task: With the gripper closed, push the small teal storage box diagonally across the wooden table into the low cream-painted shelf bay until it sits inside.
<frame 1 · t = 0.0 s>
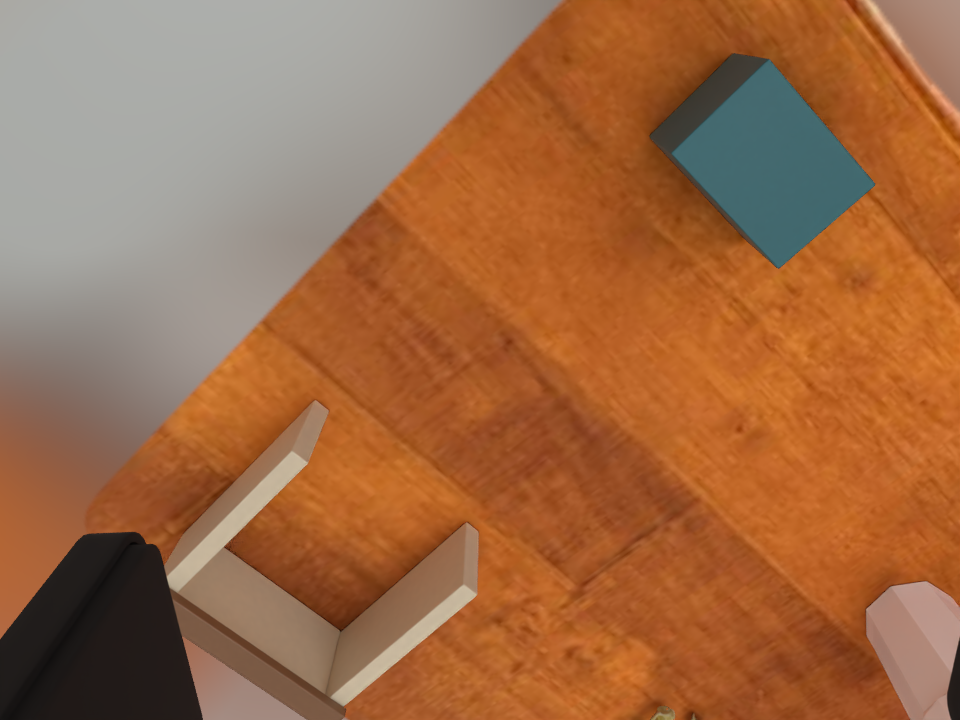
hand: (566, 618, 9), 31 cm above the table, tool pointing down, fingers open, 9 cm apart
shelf: (330, 533, 46), on the table
box: (739, 150, 37), on the table
cup: (906, 614, 48), on the table
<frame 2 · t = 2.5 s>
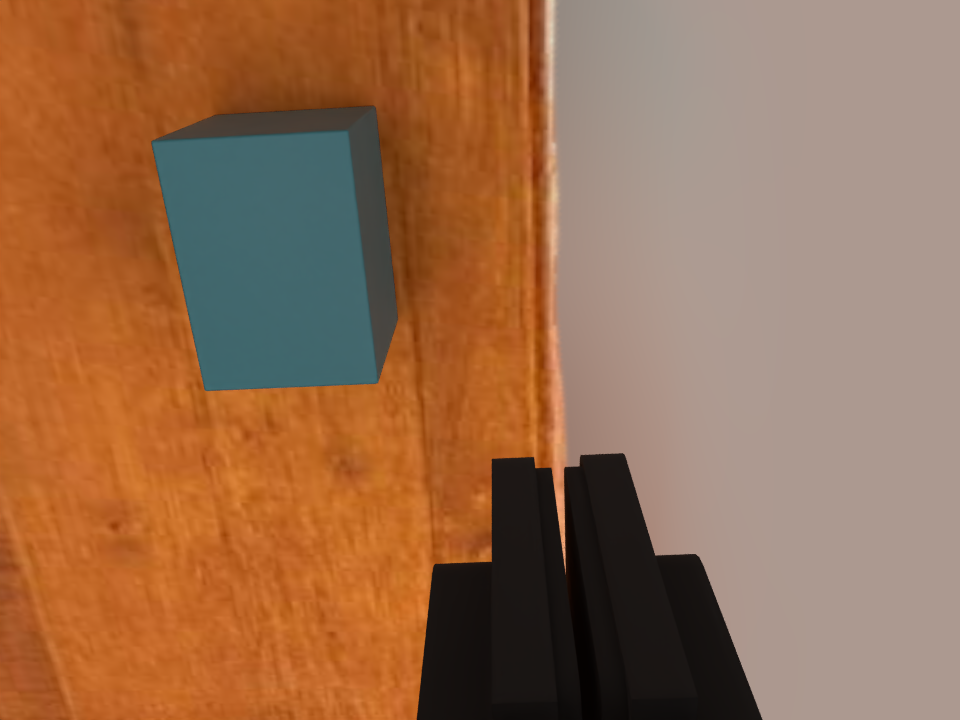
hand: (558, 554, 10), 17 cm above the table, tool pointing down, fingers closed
box: (310, 222, 26), on the table
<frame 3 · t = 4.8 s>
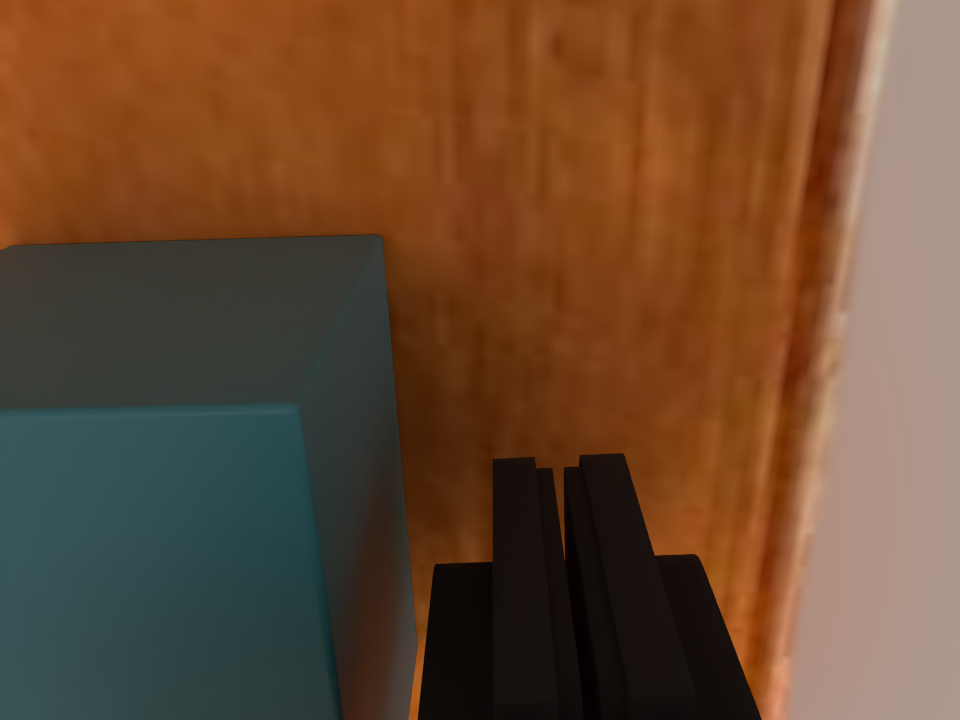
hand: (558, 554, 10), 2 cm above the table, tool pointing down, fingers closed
box: (235, 467, 12), on the table, touching gripper
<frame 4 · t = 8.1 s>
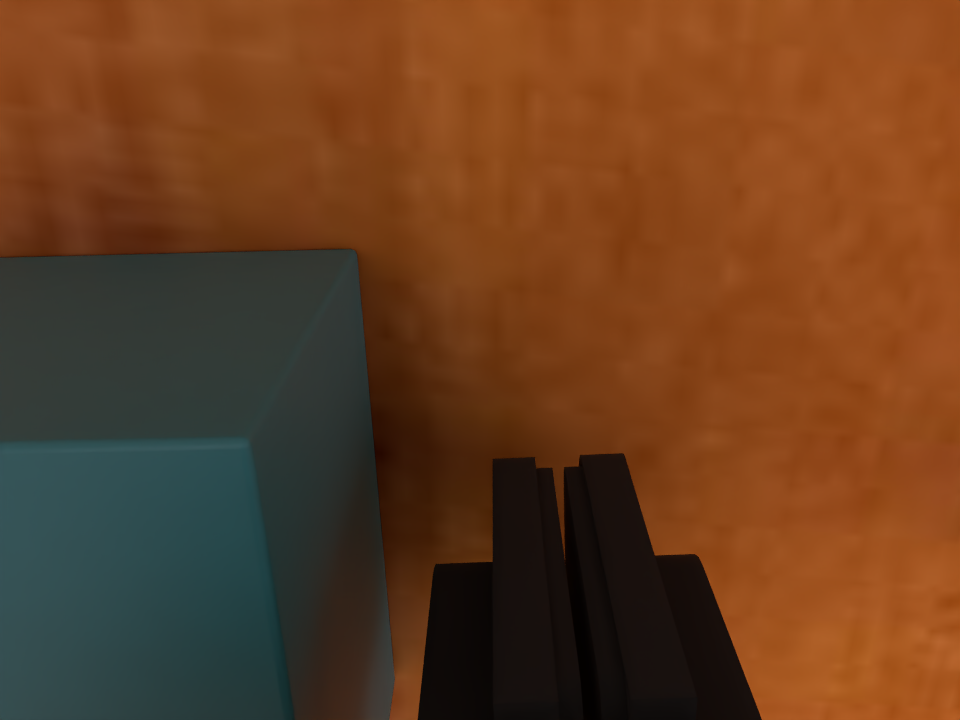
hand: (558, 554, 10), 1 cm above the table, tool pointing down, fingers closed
box: (202, 492, 11), on the table, touching gripper
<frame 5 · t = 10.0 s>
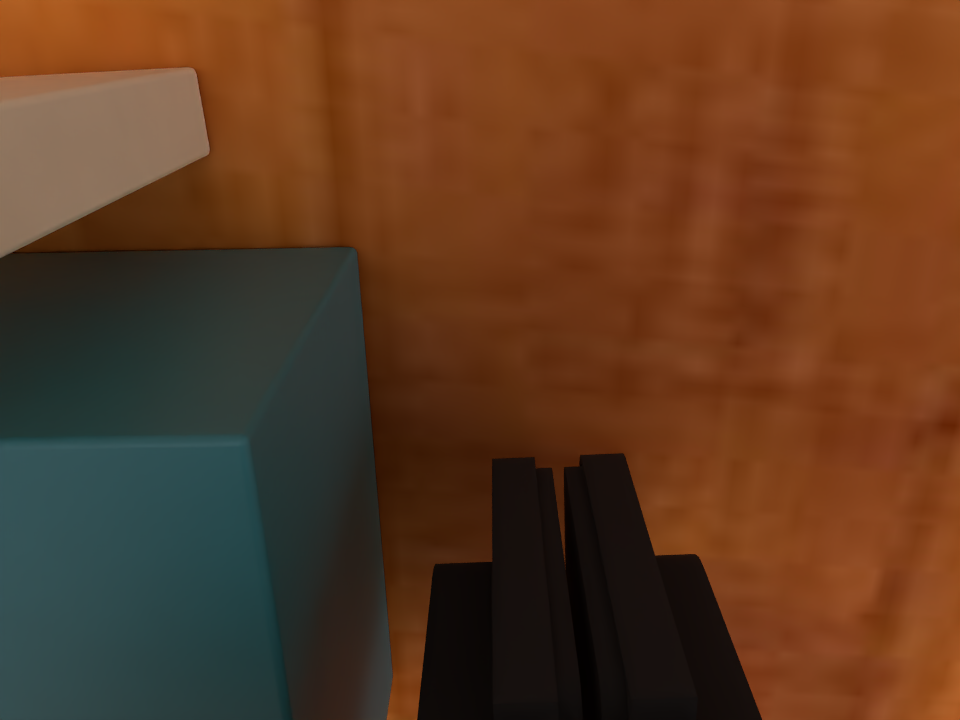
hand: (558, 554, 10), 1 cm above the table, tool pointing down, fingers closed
box: (202, 488, 12), on the table, touching gripper
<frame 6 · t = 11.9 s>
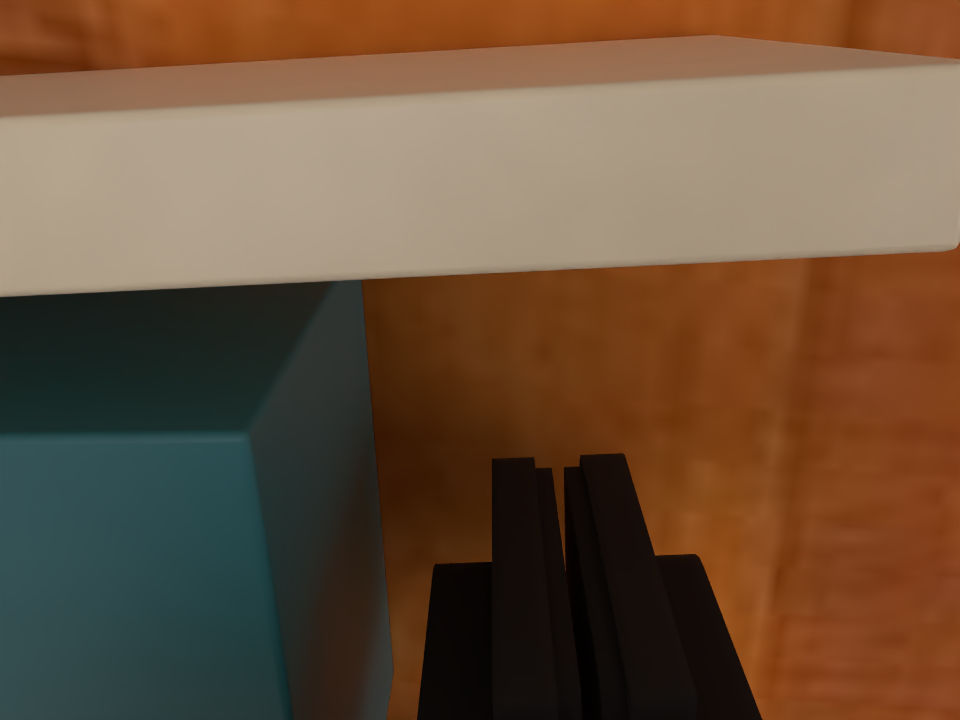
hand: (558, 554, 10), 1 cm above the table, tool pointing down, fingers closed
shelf: (273, 506, 12), on the table
box: (204, 484, 12), on the table, touching gripper
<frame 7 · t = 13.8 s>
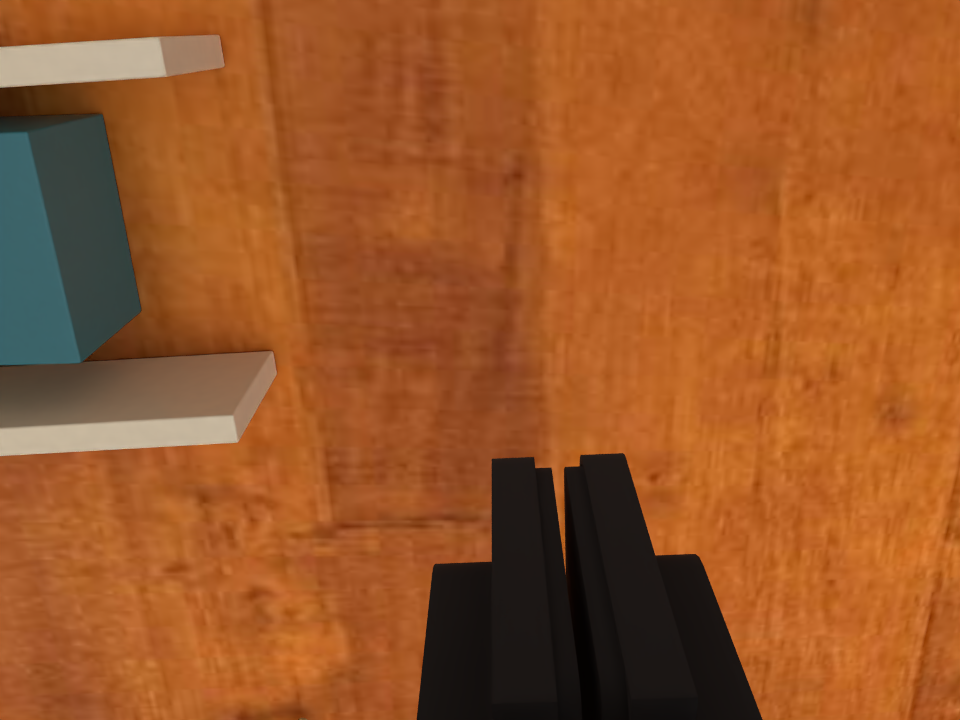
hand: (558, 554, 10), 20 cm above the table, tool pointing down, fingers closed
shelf: (82, 228, 29), on the table
box: (52, 219, 28), on the table
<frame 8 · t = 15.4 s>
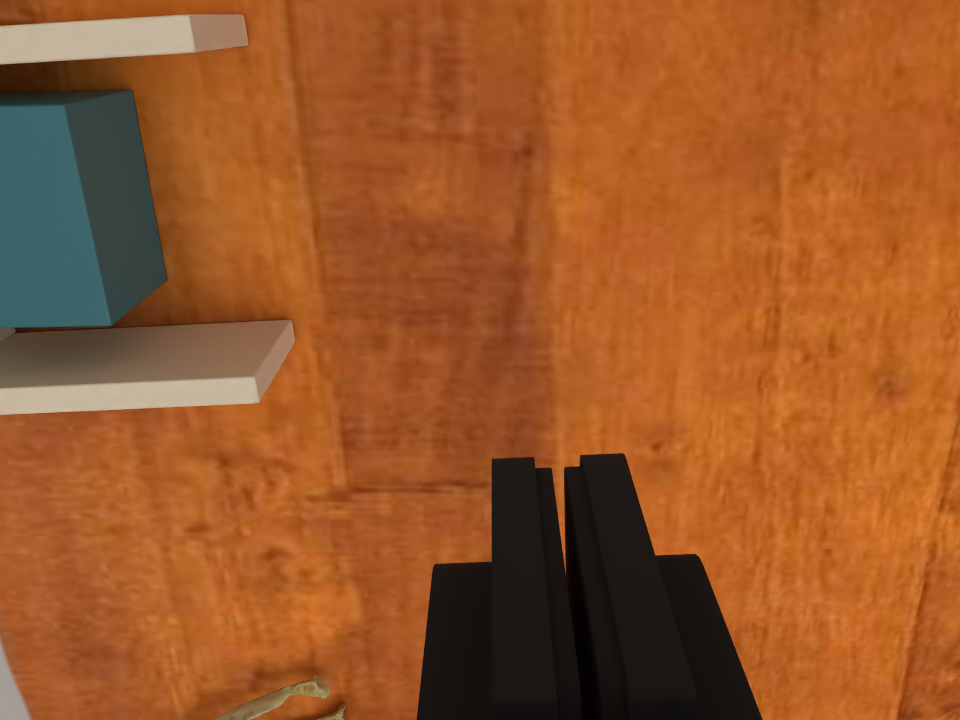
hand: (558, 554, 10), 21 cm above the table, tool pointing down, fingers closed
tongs: (228, 717, 41), on the table, touching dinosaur
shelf: (111, 199, 30), on the table
box: (84, 190, 30), on the table
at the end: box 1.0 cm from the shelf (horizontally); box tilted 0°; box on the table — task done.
